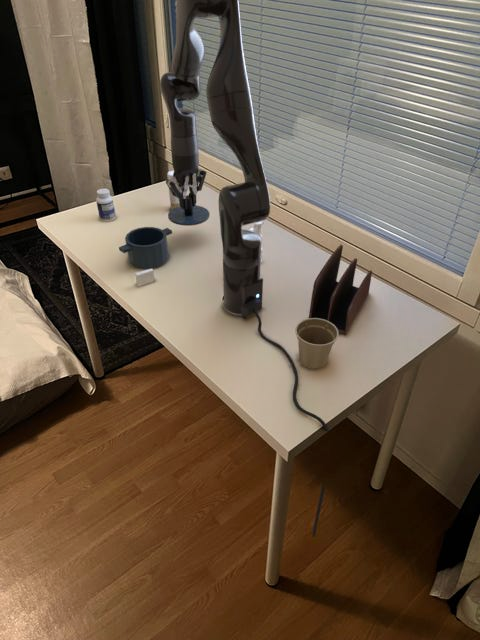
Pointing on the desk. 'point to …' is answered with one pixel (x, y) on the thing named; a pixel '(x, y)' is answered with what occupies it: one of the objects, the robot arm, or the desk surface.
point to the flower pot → (315, 341)
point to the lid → (189, 214)
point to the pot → (146, 247)
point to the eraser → (144, 277)
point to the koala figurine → (257, 230)
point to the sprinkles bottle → (173, 200)
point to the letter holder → (338, 294)
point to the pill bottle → (105, 205)
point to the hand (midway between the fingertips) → (188, 206)
